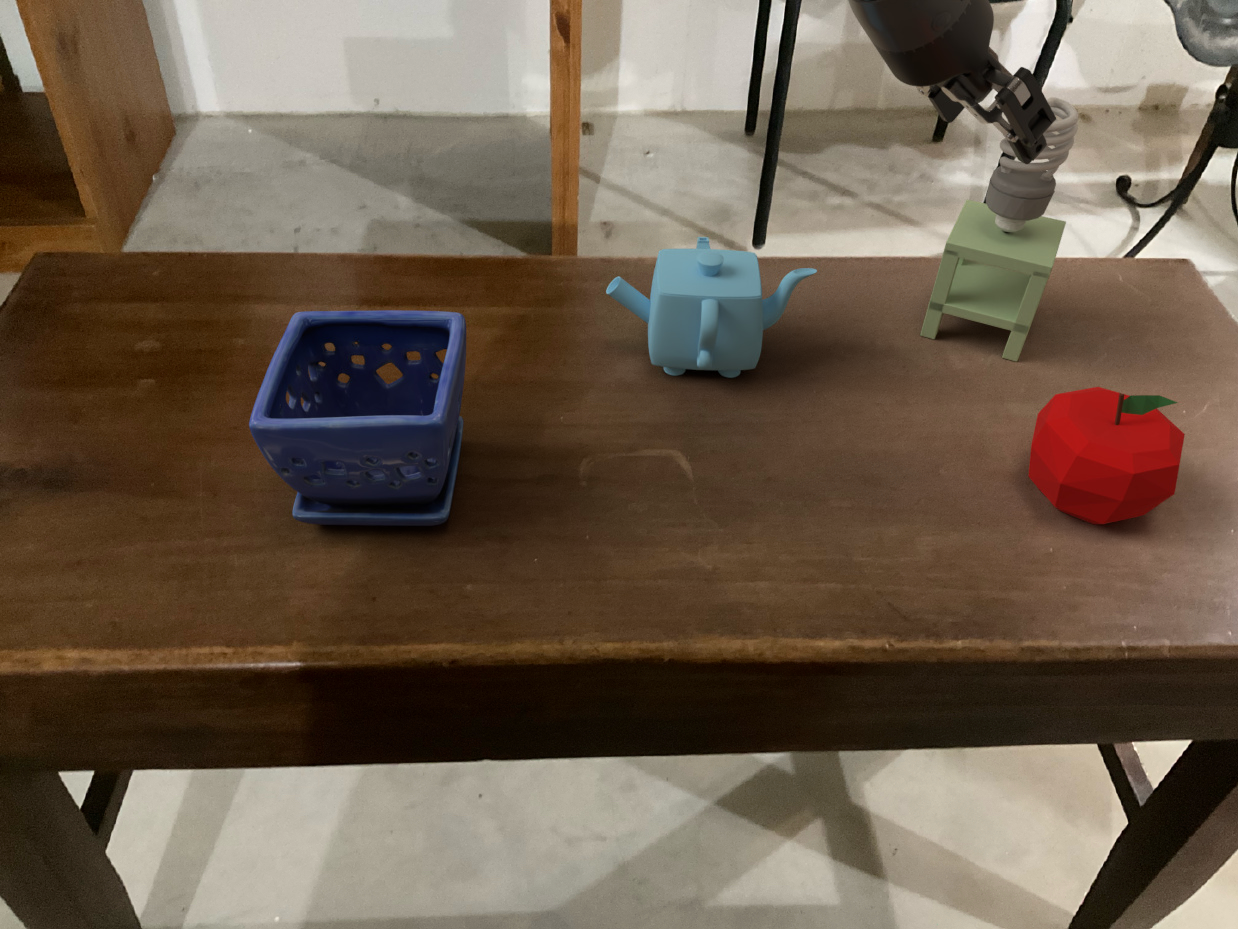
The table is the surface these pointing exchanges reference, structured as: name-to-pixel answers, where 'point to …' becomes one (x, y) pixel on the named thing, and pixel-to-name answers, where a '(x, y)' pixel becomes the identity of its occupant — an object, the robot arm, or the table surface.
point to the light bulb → (1031, 173)
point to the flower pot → (365, 416)
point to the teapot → (706, 308)
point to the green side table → (994, 274)
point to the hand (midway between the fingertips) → (993, 132)
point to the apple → (1105, 454)
